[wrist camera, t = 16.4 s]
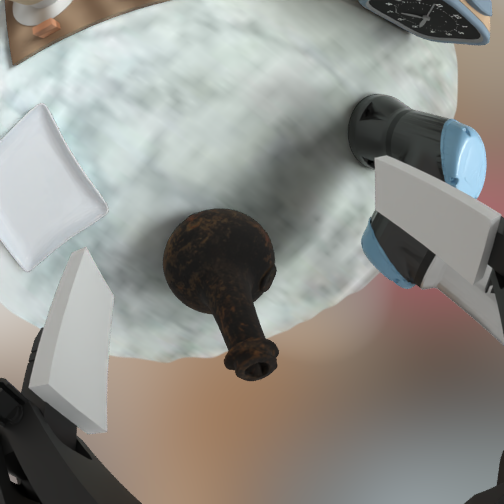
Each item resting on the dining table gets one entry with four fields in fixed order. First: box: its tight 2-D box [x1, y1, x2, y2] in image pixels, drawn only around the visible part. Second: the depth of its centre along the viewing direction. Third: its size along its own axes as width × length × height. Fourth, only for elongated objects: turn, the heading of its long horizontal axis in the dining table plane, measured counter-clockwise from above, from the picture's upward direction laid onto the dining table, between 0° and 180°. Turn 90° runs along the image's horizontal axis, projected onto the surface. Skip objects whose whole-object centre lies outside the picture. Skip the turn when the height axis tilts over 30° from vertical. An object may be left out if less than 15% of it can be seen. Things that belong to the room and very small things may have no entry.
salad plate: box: [0, 103, 109, 272], centre depth 36 cm, size 21×21×3 cm
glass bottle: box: [163, 209, 279, 381], centre depth 41 cm, size 18×18×28 cm
